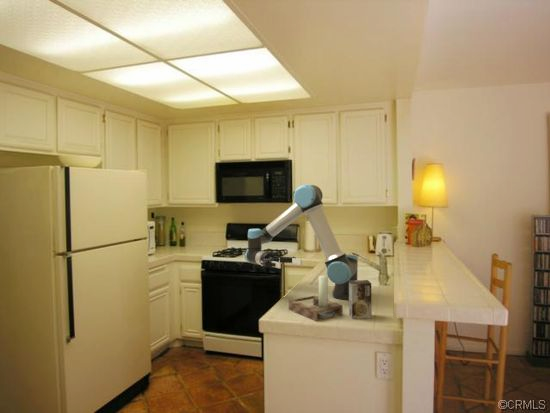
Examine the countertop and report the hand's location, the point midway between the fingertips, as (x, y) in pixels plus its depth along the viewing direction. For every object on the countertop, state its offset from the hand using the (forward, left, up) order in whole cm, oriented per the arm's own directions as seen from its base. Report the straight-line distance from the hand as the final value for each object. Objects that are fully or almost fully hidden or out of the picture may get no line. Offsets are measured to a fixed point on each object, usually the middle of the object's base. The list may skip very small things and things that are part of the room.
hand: (291, 263), depth 192 cm
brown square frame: (-4, +14, -21) cm, 26 cm away
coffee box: (-17, +31, -21) cm, 41 cm away
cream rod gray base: (-4, +21, -21) cm, 30 cm away
